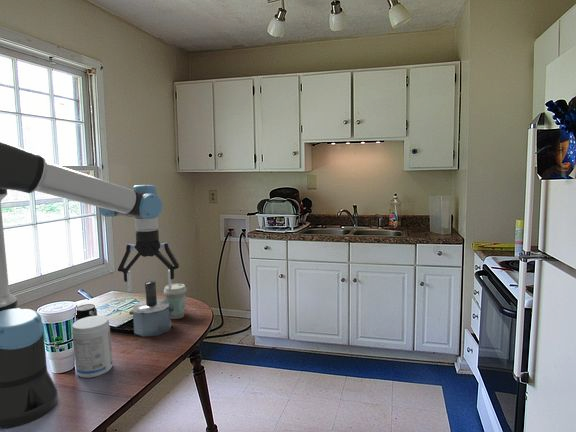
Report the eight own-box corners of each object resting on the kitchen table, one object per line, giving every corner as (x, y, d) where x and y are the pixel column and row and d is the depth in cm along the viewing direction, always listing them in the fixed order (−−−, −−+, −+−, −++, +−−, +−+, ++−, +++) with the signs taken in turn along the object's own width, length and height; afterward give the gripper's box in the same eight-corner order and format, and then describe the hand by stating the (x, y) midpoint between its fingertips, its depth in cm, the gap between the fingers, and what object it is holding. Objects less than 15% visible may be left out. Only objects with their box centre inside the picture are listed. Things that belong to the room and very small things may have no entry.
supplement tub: (91, 361, 121) (87, 314, 119) (119, 363, 119) (116, 315, 117) (68, 378, 111) (63, 327, 109) (99, 380, 110) (94, 329, 108)
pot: (173, 334, 139) (171, 312, 138) (127, 338, 136) (125, 315, 135) (176, 321, 151) (175, 300, 150) (134, 324, 148) (133, 303, 147)
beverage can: (75, 340, 135) (72, 306, 133) (96, 335, 139) (93, 302, 137) (79, 347, 130) (76, 312, 128) (101, 342, 134) (98, 307, 132)
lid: (167, 312, 138) (165, 286, 136) (130, 315, 136) (128, 288, 134) (171, 300, 149) (169, 276, 148) (137, 303, 147) (135, 278, 146)
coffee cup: (181, 321, 150) (179, 290, 149) (160, 319, 152) (158, 289, 151) (191, 313, 159) (190, 283, 157) (172, 311, 161) (170, 282, 159)
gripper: (185, 226, 145) (187, 284, 147) (111, 229, 140) (115, 288, 143) (183, 230, 137) (185, 290, 140) (105, 232, 133) (109, 294, 136)
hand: (150, 289), depth 141 cm, fingers open, 13 cm apart
